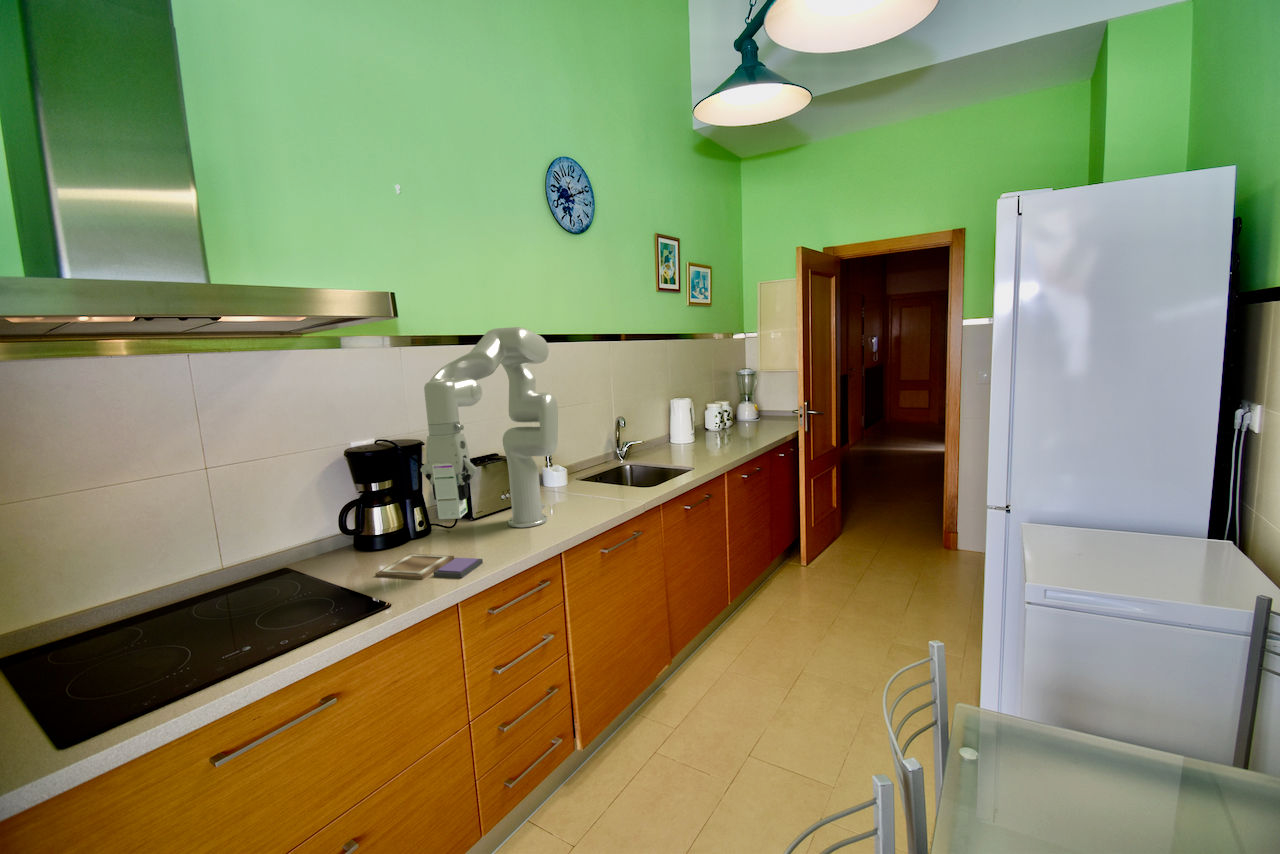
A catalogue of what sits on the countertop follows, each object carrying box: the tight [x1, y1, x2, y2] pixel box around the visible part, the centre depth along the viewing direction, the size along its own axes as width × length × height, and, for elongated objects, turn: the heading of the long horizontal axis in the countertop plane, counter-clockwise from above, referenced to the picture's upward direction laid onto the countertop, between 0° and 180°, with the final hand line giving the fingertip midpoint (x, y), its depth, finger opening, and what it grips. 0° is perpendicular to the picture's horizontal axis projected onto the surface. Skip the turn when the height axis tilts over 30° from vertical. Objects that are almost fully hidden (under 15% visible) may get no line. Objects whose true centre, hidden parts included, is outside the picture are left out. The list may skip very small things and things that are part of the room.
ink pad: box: [433, 557, 483, 579], centre depth 146 cm, size 8×10×2 cm
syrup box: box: [432, 463, 468, 520], centre depth 143 cm, size 6×6×14 cm
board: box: [374, 553, 455, 580], centre depth 149 cm, size 14×14×1 cm
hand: (451, 498), depth 143 cm, fingers closed on syrup box, 6 cm apart
